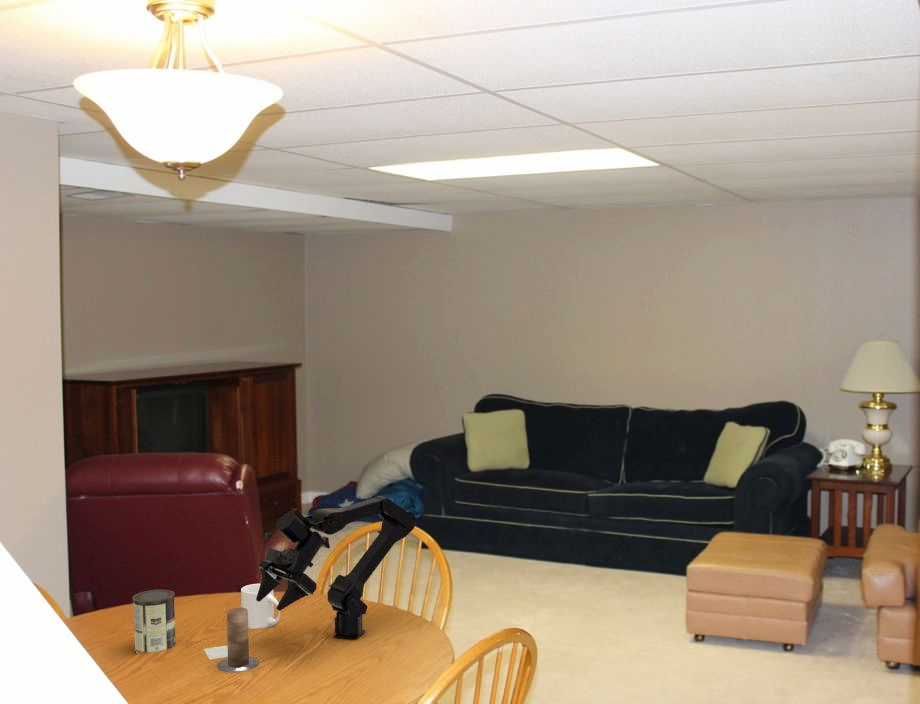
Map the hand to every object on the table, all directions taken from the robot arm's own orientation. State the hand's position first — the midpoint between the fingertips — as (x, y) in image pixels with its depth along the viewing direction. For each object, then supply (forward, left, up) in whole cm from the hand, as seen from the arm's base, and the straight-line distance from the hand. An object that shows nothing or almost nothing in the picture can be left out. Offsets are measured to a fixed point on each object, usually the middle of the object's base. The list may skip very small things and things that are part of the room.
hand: (267, 605), depth 251 cm
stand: (+12, +1, -14) cm, 18 cm away
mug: (+12, -20, -14) cm, 27 cm away
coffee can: (+31, +2, -14) cm, 34 cm away
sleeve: (+4, +8, -12) cm, 15 cm away
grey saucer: (+4, +8, -14) cm, 16 cm away
